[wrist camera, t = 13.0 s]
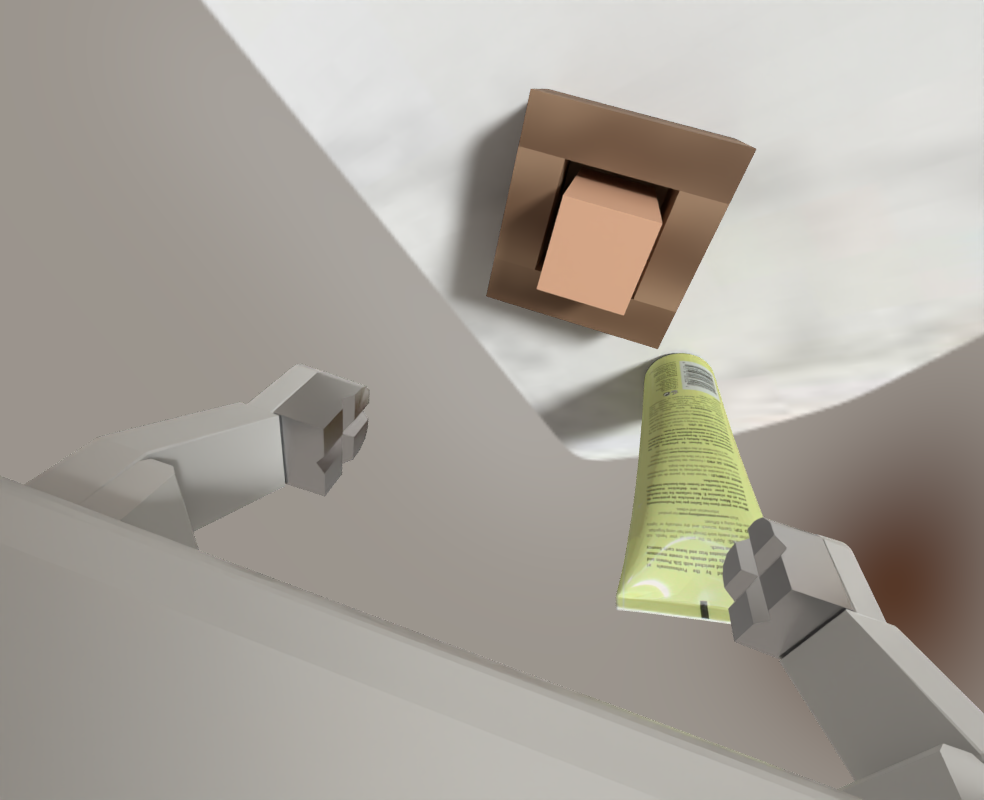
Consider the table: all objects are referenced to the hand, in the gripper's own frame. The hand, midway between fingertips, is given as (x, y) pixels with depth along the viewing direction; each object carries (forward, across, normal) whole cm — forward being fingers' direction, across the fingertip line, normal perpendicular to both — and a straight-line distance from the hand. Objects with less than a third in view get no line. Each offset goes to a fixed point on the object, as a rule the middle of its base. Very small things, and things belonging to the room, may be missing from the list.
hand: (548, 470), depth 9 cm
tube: (+25, -9, +10) cm, 29 cm away
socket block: (+25, 0, 0) cm, 25 cm away
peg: (+24, 0, 0) cm, 24 cm away
